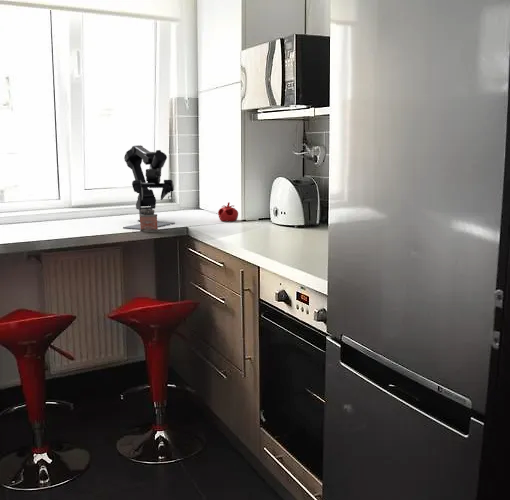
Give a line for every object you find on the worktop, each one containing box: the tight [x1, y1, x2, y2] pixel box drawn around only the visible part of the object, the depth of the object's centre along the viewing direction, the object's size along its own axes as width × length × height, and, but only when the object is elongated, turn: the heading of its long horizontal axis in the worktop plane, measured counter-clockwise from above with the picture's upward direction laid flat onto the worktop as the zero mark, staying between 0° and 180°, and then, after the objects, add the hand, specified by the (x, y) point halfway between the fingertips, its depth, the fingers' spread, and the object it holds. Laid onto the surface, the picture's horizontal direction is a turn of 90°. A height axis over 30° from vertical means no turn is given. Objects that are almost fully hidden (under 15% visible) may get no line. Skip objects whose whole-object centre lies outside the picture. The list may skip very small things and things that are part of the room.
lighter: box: [139, 209, 159, 233], centre depth 269 cm, size 8×3×10 cm, turn 84°
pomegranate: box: [217, 202, 239, 222], centre depth 297 cm, size 10×10×9 cm
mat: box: [122, 220, 176, 231], centre depth 285 cm, size 13×22×1 cm, turn 148°
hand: (151, 199), depth 275 cm, fingers open, 9 cm apart
